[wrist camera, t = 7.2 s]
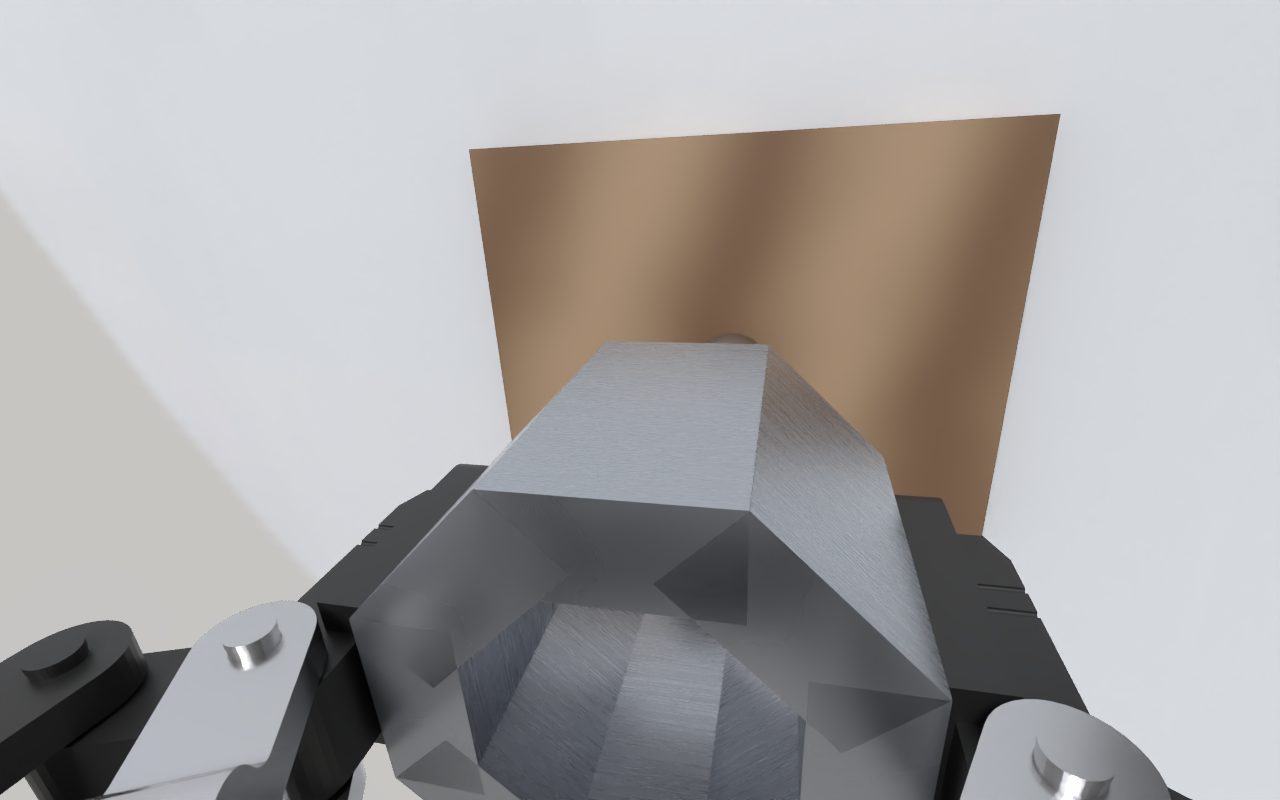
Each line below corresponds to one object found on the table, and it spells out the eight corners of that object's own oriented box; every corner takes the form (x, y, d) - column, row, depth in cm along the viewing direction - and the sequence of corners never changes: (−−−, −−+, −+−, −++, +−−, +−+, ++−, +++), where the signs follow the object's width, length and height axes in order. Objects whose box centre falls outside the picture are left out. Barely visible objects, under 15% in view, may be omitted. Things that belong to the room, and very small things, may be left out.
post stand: (1040, 115, 14) (1266, 96, 8) (965, 545, 19) (1062, 778, 12) (488, 148, 18) (291, 156, 11) (538, 509, 22) (421, 678, 15)
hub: (896, 346, 9) (985, 529, 5) (859, 669, 11) (898, 977, 7) (501, 338, 10) (306, 476, 6) (543, 628, 12) (422, 867, 8)
